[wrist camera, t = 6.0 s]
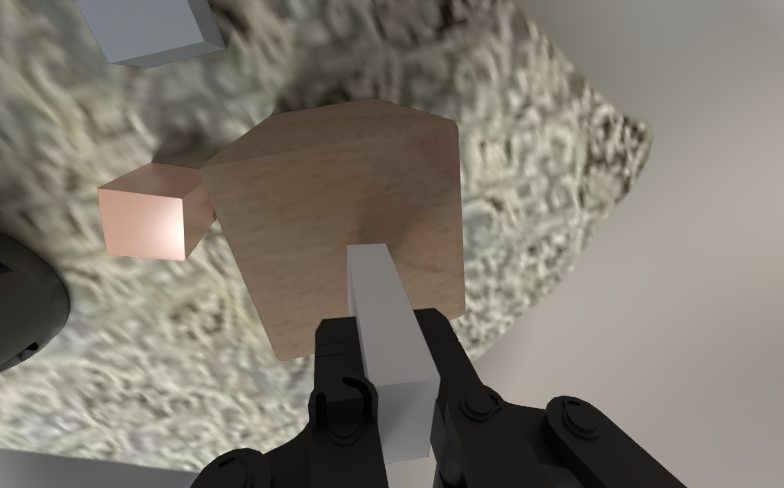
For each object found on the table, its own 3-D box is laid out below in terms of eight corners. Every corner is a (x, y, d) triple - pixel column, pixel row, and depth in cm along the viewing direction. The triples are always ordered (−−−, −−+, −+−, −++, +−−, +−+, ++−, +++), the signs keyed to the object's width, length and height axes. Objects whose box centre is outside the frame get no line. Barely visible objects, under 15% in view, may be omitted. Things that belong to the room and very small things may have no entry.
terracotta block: (155, 214, 31) (107, 254, 24) (150, 162, 29) (96, 188, 22) (214, 221, 32) (185, 260, 25) (213, 171, 30) (182, 199, 23)
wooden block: (267, 114, 29) (189, 166, 11) (377, 96, 30) (462, 117, 12) (298, 217, 33) (276, 367, 16) (392, 198, 35) (469, 318, 17)
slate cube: (151, 67, 26) (109, 63, 21) (103, -28, 23) (39, -60, 18) (227, 49, 26) (204, 41, 21) (189, -46, 23) (151, -83, 18)
